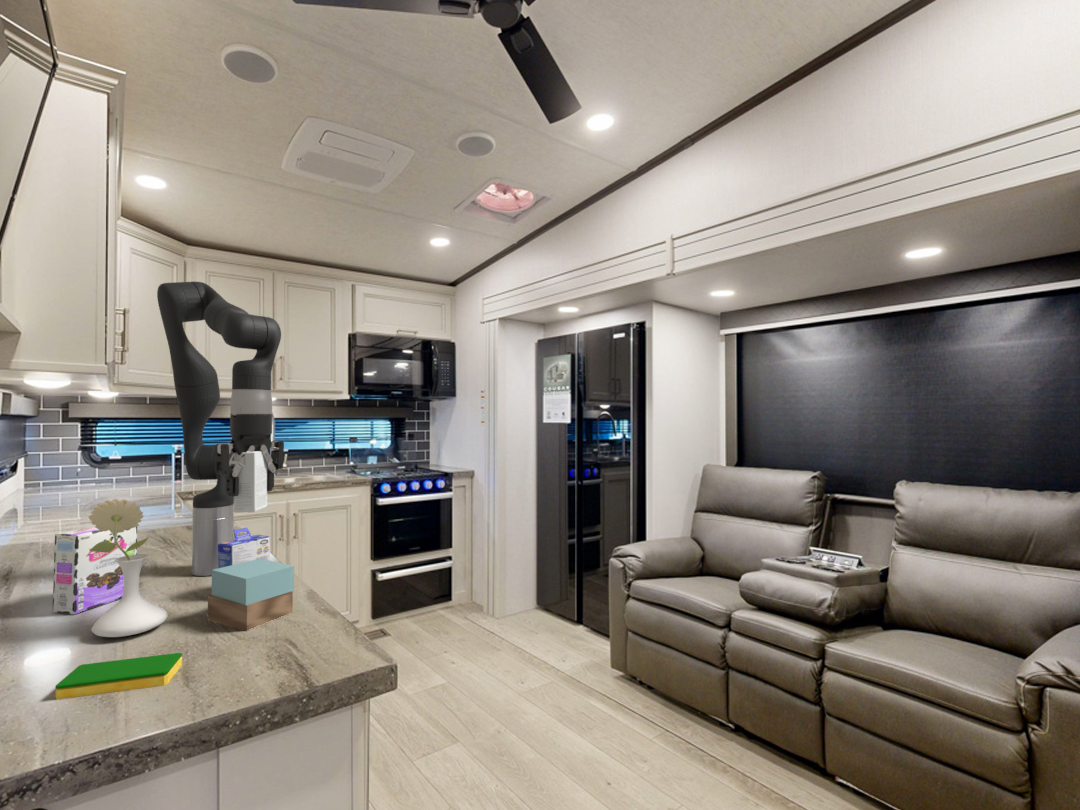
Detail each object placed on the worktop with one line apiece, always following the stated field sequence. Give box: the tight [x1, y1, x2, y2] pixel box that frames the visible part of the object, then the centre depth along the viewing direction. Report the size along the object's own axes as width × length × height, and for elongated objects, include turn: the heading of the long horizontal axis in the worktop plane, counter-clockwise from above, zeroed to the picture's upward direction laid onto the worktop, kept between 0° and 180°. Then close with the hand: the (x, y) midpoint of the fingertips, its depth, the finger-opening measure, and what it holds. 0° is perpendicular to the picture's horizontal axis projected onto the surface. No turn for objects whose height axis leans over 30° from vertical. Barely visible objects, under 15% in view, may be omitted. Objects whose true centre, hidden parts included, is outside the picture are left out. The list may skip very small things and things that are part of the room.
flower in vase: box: [88, 498, 168, 638], centre depth 101 cm, size 13×11×25 cm
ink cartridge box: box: [218, 527, 271, 568], centre depth 123 cm, size 10×6×14 cm, turn 155°
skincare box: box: [233, 451, 268, 514], centre depth 108 cm, size 6×4×12 cm
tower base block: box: [207, 591, 294, 631], centre depth 108 cm, size 10×12×5 cm
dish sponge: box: [54, 652, 183, 700], centre depth 81 cm, size 7×14×2 cm, turn 107°
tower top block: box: [211, 559, 295, 605], centre depth 108 cm, size 10×12×5 cm
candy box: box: [52, 526, 138, 615], centre depth 116 cm, size 14×6×16 cm, turn 168°
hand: (250, 493), depth 108 cm, fingers closed on skincare box, 7 cm apart
